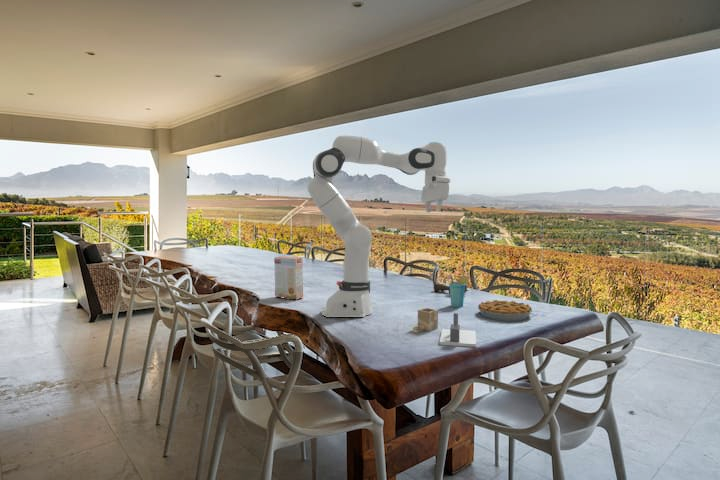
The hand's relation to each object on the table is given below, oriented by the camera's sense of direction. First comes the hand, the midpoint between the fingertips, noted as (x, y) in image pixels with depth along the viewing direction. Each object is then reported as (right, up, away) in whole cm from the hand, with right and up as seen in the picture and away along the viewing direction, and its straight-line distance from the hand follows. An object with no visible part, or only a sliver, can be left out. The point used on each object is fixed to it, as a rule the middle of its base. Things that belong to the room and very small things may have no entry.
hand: (433, 211), depth 199 cm
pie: (+30, -45, -5) cm, 54 cm away
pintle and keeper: (+1, -47, -39) cm, 62 cm away
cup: (+12, -43, +11) cm, 46 cm away
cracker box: (-68, -42, +31) cm, 85 cm away
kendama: (+16, -41, +41) cm, 60 cm away
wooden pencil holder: (-8, -46, -26) cm, 54 cm away
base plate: (+3, -47, -38) cm, 61 cm away
